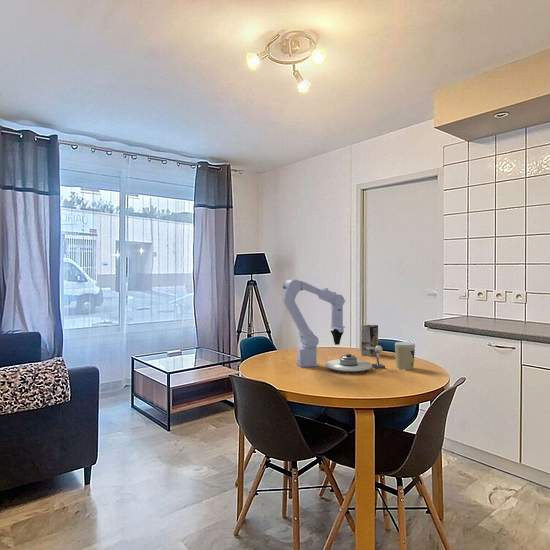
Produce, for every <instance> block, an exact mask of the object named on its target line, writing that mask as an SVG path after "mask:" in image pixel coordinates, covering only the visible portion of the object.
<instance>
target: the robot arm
mask: <svg viewBox="0 0 550 550" xmlns="http://www.w3.org/2000/svg"><path fill="white" fill-rule="evenodd" d="M300 291H301V292H302V291H306V292H308V293H311V294H315V295H316V296H317V298H318V299H320V300H322V301H324V302H327V303H329V304H330V305H331V314H330V315H331V316H330V317H331V318H330V319H331V323H330V329H331V330H330V332H331V335H332V339H333V343H334V345H335V346H337V345H338V346H340V343H341V339H342V336H343V334H344V329H345V328H346V326H345V325H343V323H344V322H343V321H344V313H343V311H344V309H343V307H344V304H345V303H346V300H345V297H344V296H343V295H342V294H340V293H339V294H337V292H336V291H331V290H329V288H327V287H322V288H319V287H316V286H314V285H313V284H310V283H308V282H305V281H302V280H298V279H291V278H287V279H285V281H284V282H283V285H282V302H283V304H284V305H285V308H286V309H287V311H288V314H289V315H290V316H291V319H292V321H293V322H294V324H295V326H296V328H297V330H298V335H299V337H300V339H299V340H300V343H301V347H298V348H297V351H296V356H297V357H296V359H297V362H296V364H297V365H298V366H299V367H301V368H304V367H305V368H309V367H320V364H319V363H317V361H318V360H317V346H318V345H319V337H318V336H317V335H315V334H314V332H313V331H312V330H311V329H310V327H309V325H308V323H307V322H306V320H305V318H304V316H303V314H302V312H301V311H300V308H299V307H298V305H297V303H296V301H295V299H296V296H297V295H298V294H299V292H300Z"/></svg>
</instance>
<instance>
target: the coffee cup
mask: <svg viewBox="0 0 550 550" xmlns="http://www.w3.org/2000/svg"><path fill="white" fill-rule="evenodd" d="M415 347H416V345H415V343H414V342H412V341H411V342H410V341H396V342H395V343H394V351H395V366H396V369H397V368H399V369H398V370H401V369H405V370H404V371H410V370H409V369H412V370H414V364H415V362H414V361H415V349H416V348H415Z"/></svg>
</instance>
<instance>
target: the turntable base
mask: <svg viewBox="0 0 550 550" xmlns="http://www.w3.org/2000/svg"><path fill="white" fill-rule="evenodd" d="M329 370H330V371H331V370H332V371H331V372H334V371H335V372H334V373H338V372H340V373H339V374H346V373H349V374H350V375H352V374H353V375H354V374H355V375H356V373H357V374H363V372H364V373H367V372H368V371H367V370H364V371H340V370H334V369H330V368H329ZM366 371H367V372H366ZM349 374H348V375H349Z"/></svg>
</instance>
